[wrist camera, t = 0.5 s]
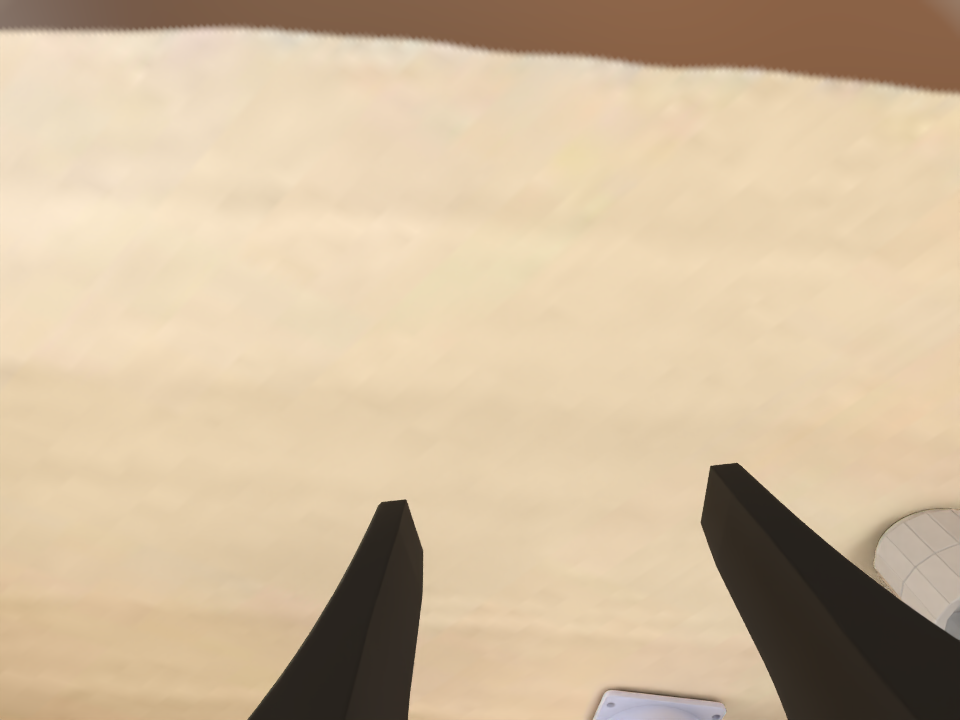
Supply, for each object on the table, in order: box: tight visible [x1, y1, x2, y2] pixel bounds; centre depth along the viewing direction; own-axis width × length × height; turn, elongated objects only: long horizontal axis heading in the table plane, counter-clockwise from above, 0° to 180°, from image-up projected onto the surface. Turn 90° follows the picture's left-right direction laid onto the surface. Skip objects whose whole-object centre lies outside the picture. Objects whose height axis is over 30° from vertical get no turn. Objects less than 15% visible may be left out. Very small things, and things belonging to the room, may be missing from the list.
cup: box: [874, 509, 960, 640], centre depth 24 cm, size 5×5×4 cm
